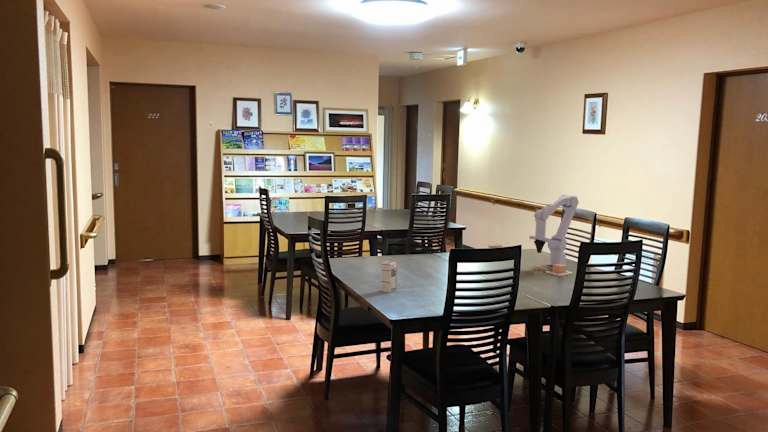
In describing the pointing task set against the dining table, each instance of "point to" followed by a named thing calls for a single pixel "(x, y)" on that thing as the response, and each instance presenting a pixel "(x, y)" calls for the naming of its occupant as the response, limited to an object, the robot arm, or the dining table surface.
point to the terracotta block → (559, 268)
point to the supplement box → (495, 246)
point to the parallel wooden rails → (543, 268)
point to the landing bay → (560, 274)
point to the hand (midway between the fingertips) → (539, 252)
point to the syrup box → (388, 276)
